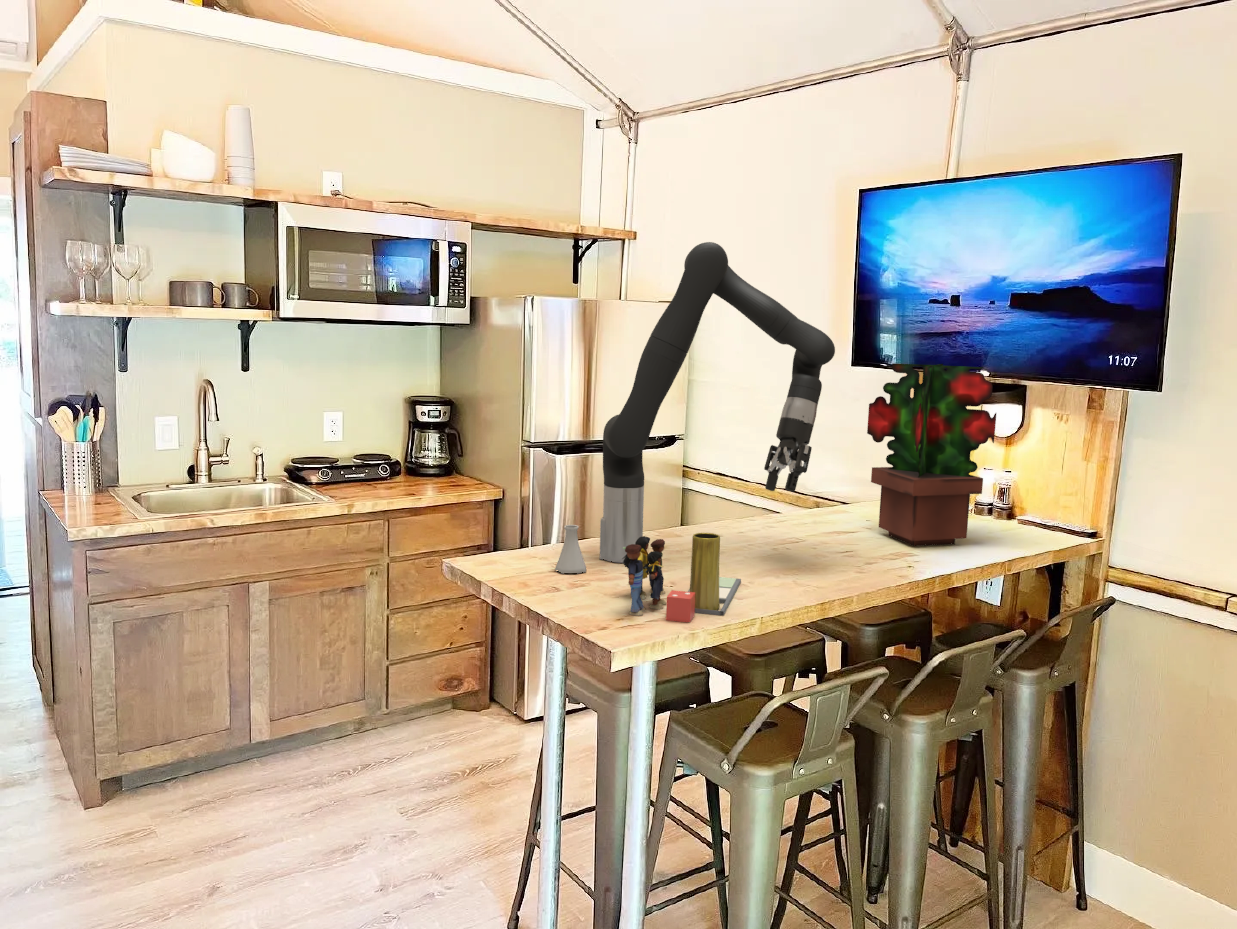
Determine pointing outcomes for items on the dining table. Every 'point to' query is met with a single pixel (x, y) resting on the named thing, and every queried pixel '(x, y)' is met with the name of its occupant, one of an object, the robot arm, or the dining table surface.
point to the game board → (723, 595)
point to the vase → (705, 570)
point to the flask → (571, 553)
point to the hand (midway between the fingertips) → (779, 490)
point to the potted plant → (930, 451)
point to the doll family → (645, 573)
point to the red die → (680, 606)
